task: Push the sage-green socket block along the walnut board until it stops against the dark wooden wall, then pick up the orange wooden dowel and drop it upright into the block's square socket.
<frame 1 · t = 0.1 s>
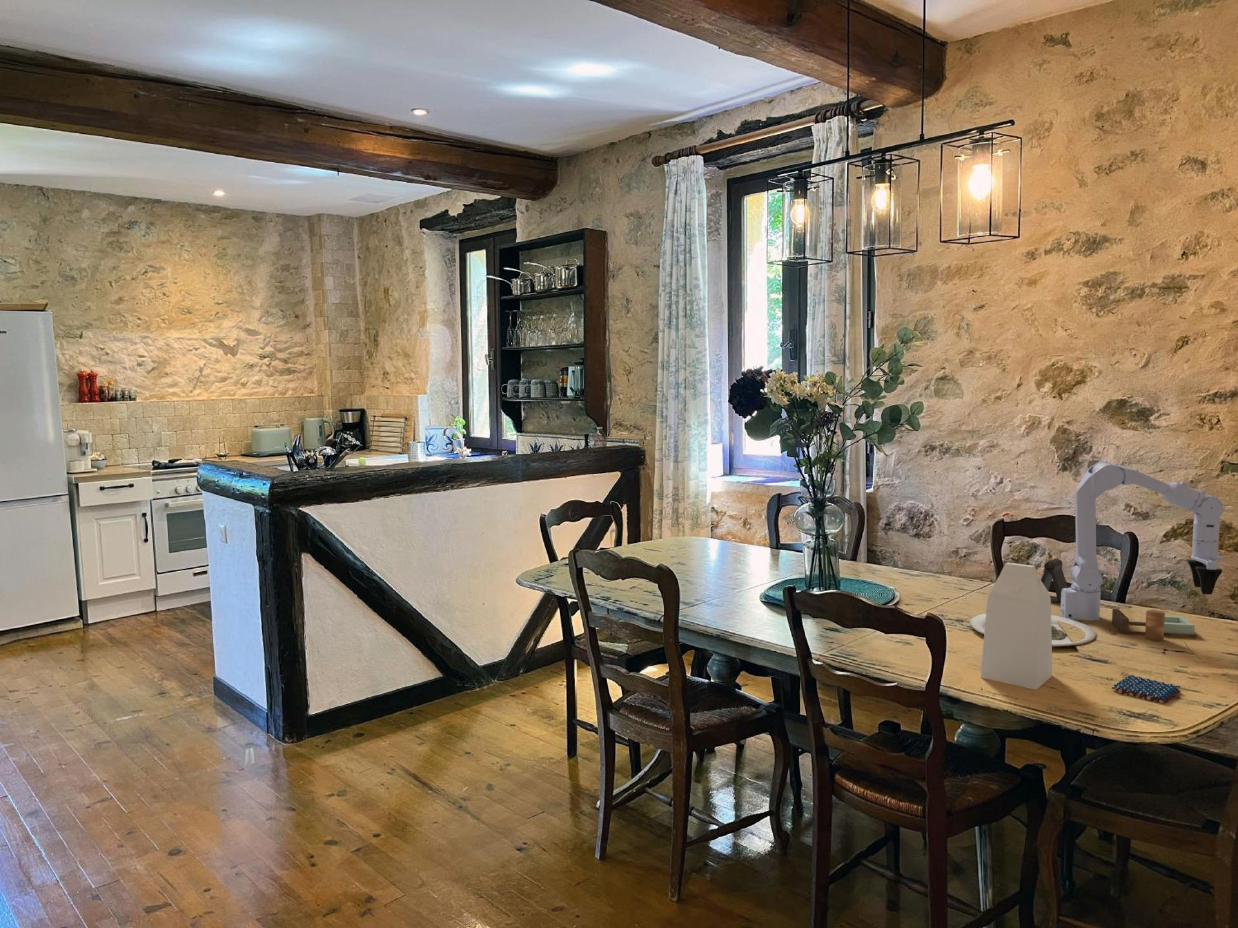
hand: (1203, 590, 230), 10 cm above the table, tool pointing down, fingers open, 7 cm apart
plated food: (1031, 634, 229), on the table
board: (1156, 637, 223), on the table
door stopper: (1052, 600, 261), on the table
milk: (1016, 677, 197), on the table
woven mat: (1145, 694, 187), on the table
dowel: (1154, 639, 219), point 1 cm above the table, touching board
socket block: (1170, 625, 225), point 3 cm above the table, slide at 6.5 cm
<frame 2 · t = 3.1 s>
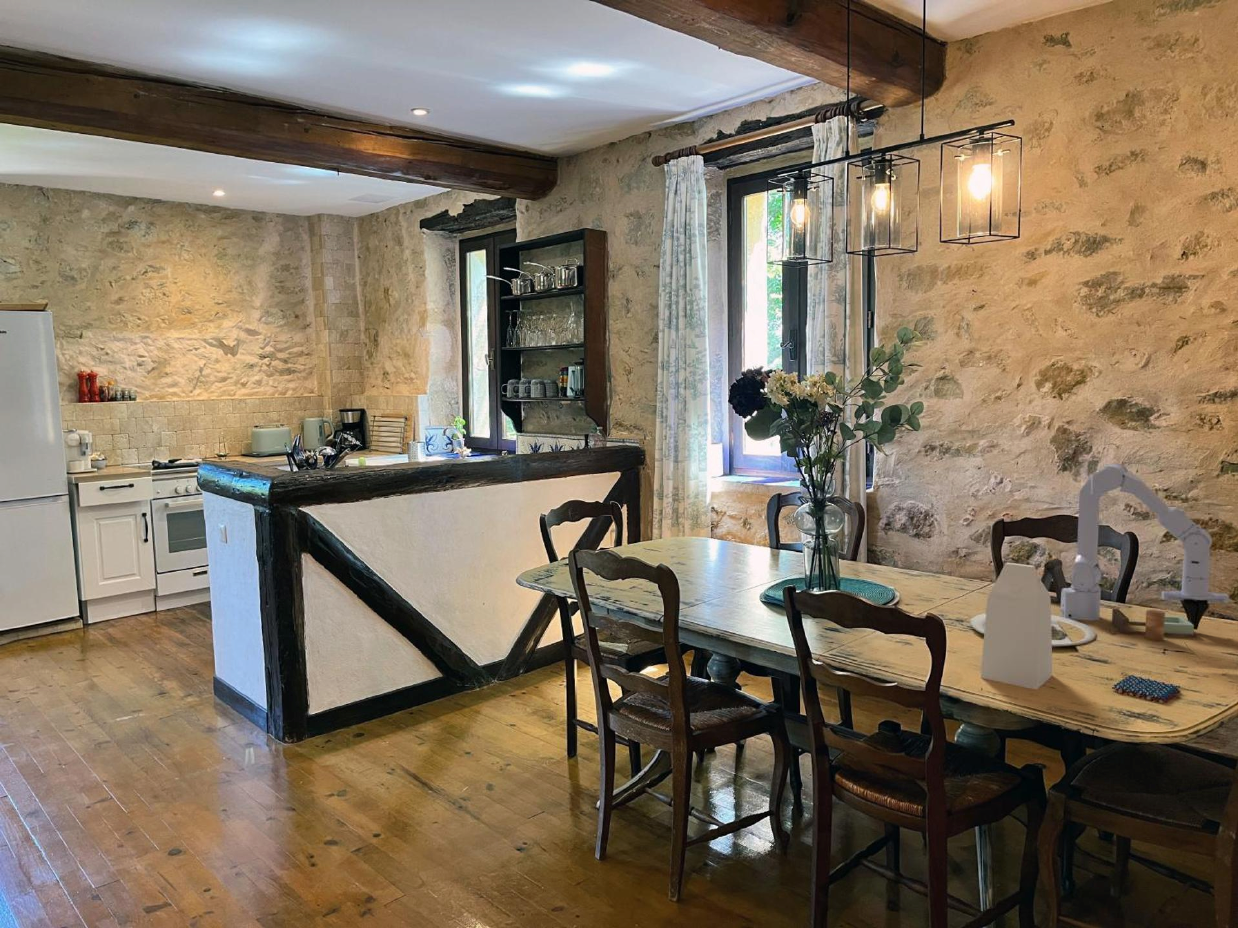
hand: (1193, 628, 223), 2 cm above the table, tool pointing down, fingers closed
socket block: (1169, 625, 225), point 3 cm above the table, slide at 6.3 cm, touching gripper
everything else where it was.
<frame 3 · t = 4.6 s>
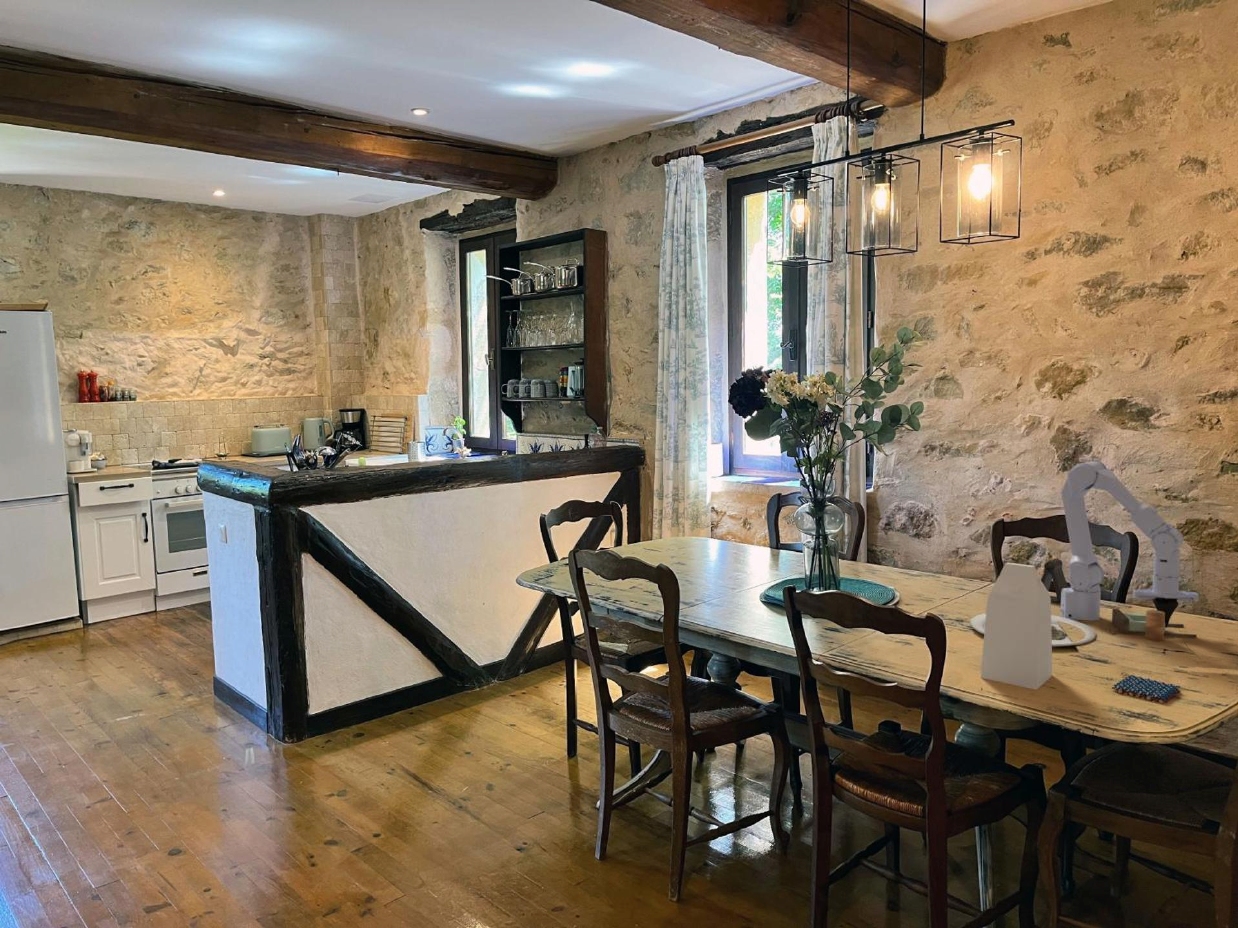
hand: (1163, 626, 225), 2 cm above the table, tool pointing down, fingers closed
socket block: (1142, 623, 226), point 3 cm above the table, slide at -0.1 cm, touching gripper
everything else where it was.
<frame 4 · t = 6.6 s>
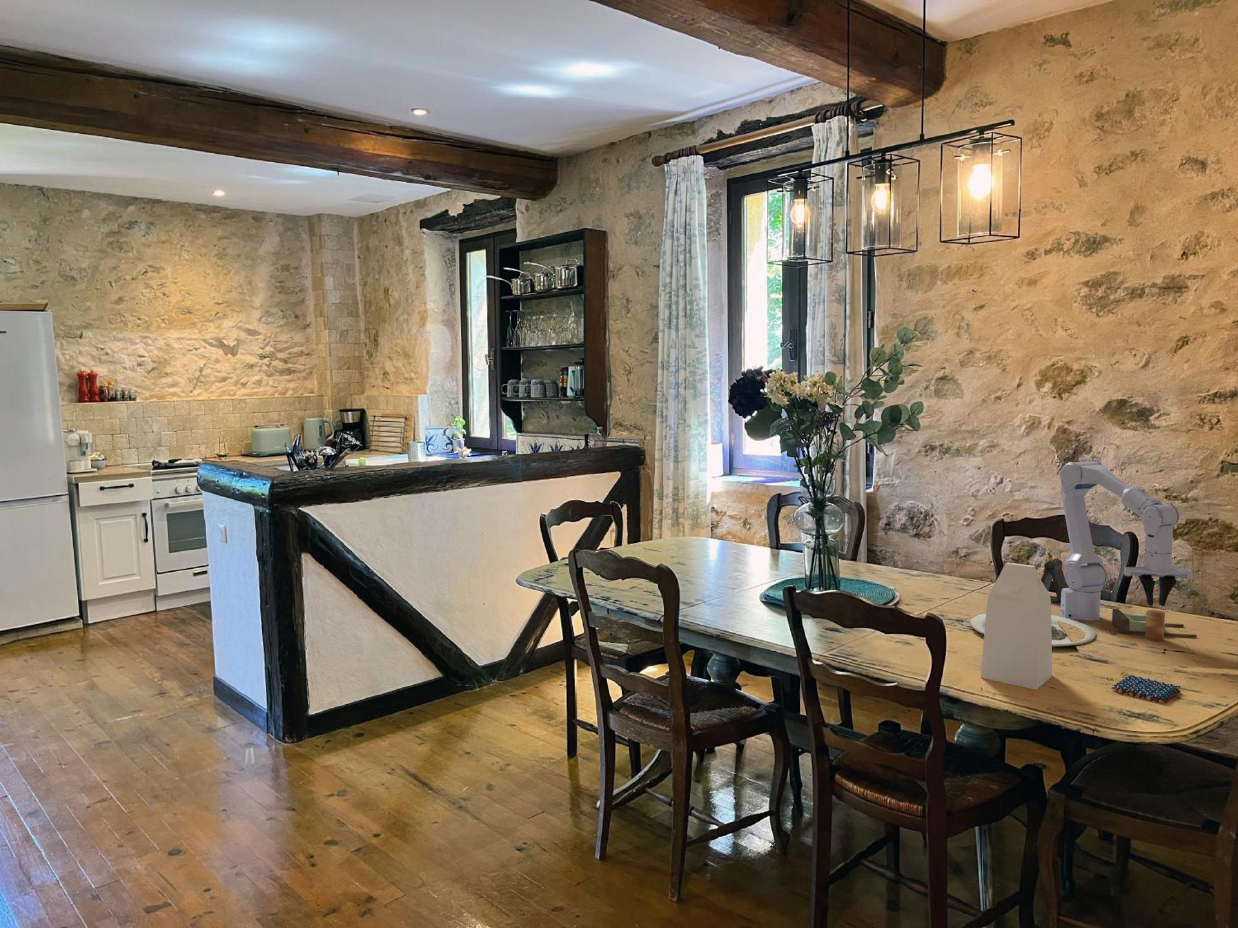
hand: (1155, 604, 218), 10 cm above the table, tool pointing down, fingers closed
socket block: (1142, 623, 226), point 3 cm above the table, slide at 0.0 cm
everything else where it was.
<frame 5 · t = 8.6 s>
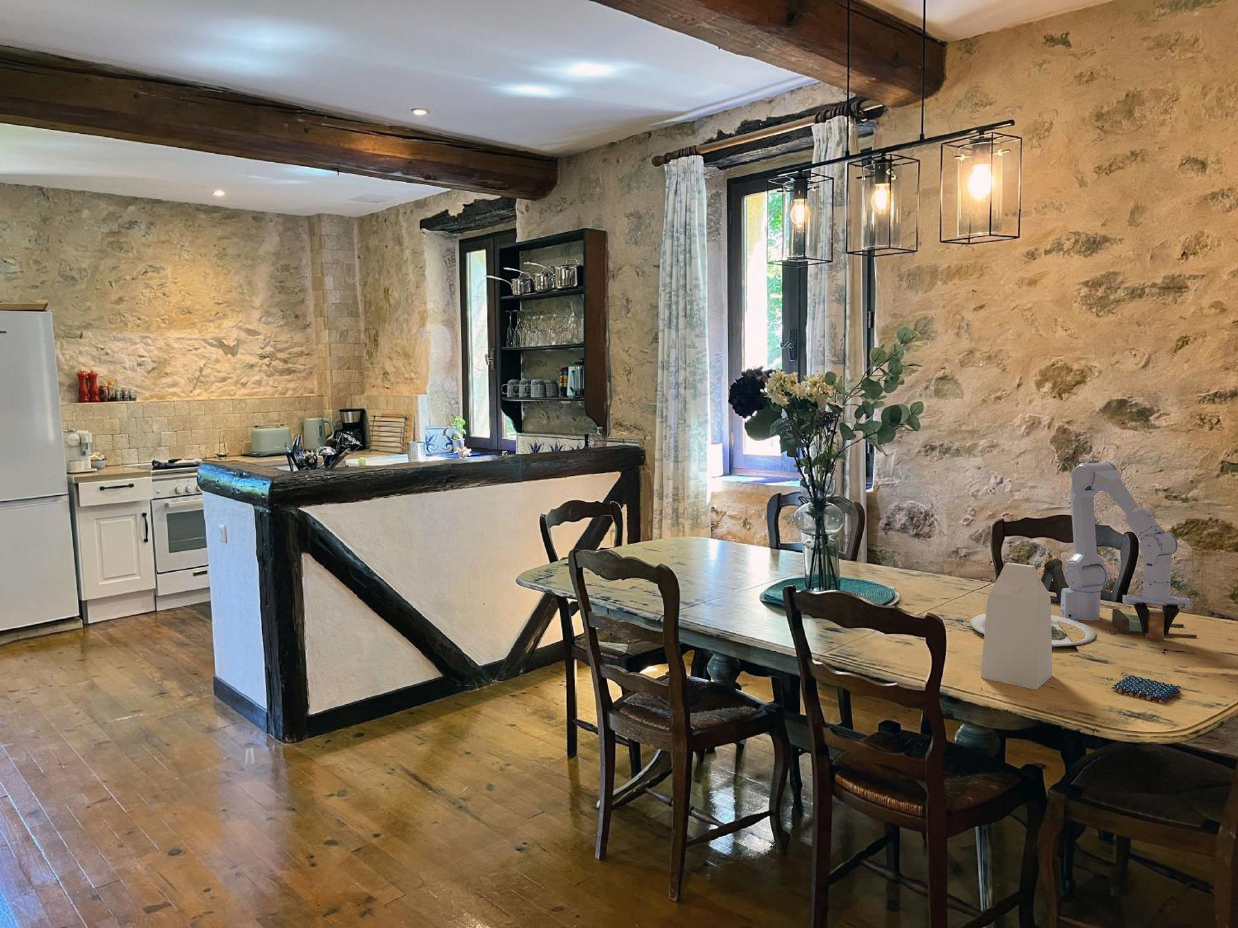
hand: (1154, 633, 219), 3 cm above the table, tool pointing down, fingers closed on dowel, 4 cm apart
dowel: (1154, 639, 219), point 1 cm above the table, touching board, gripper
everything else where it was.
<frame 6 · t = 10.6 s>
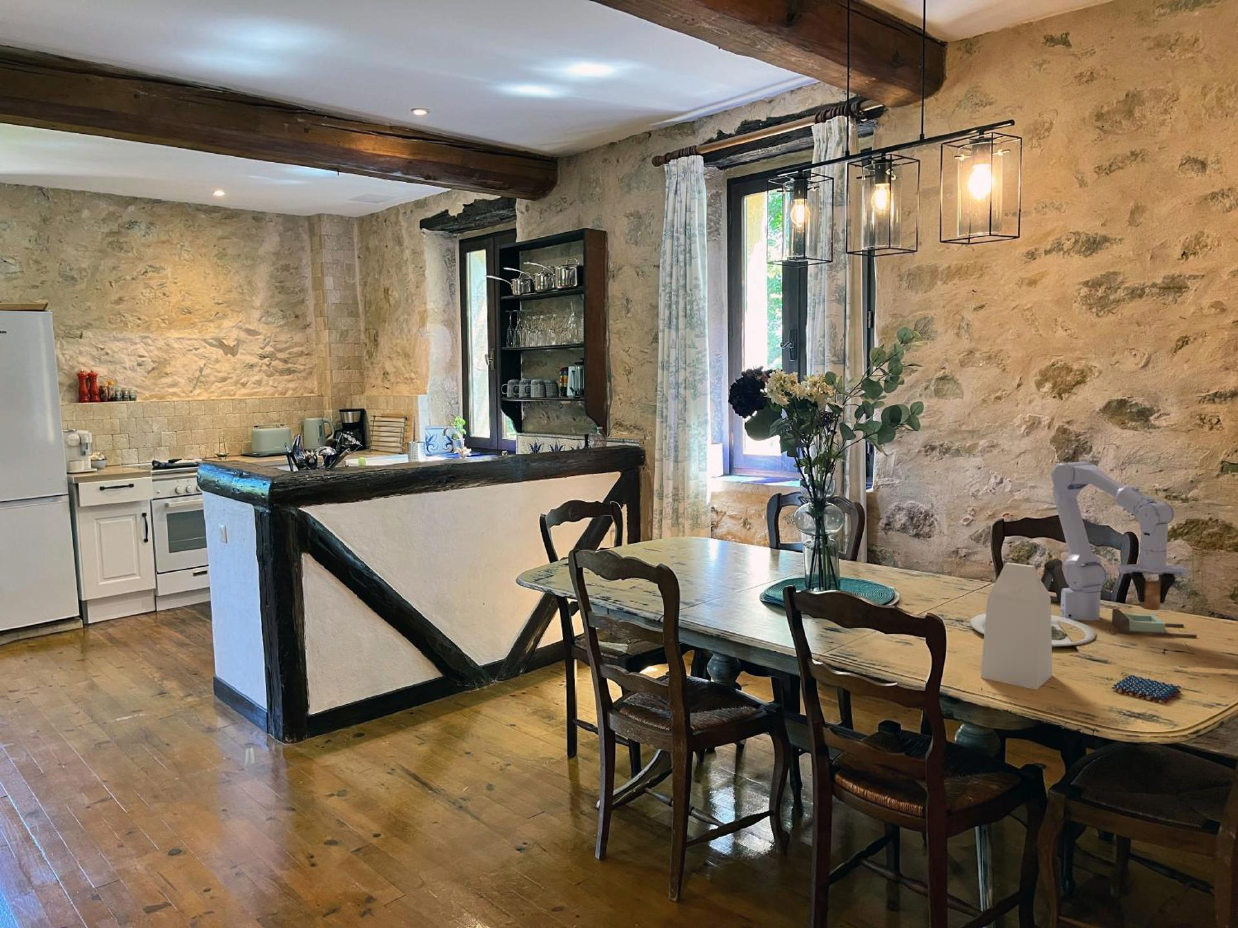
hand: (1150, 601, 221), 10 cm above the table, tool pointing down, fingers closed on dowel, 4 cm apart
dowel: (1150, 607, 221), point 8 cm above the table, touching gripper
everything else where it was.
when the fingers open (5 cm above the table, at t = 12.7 s): dowel drops 2 cm, resting on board.
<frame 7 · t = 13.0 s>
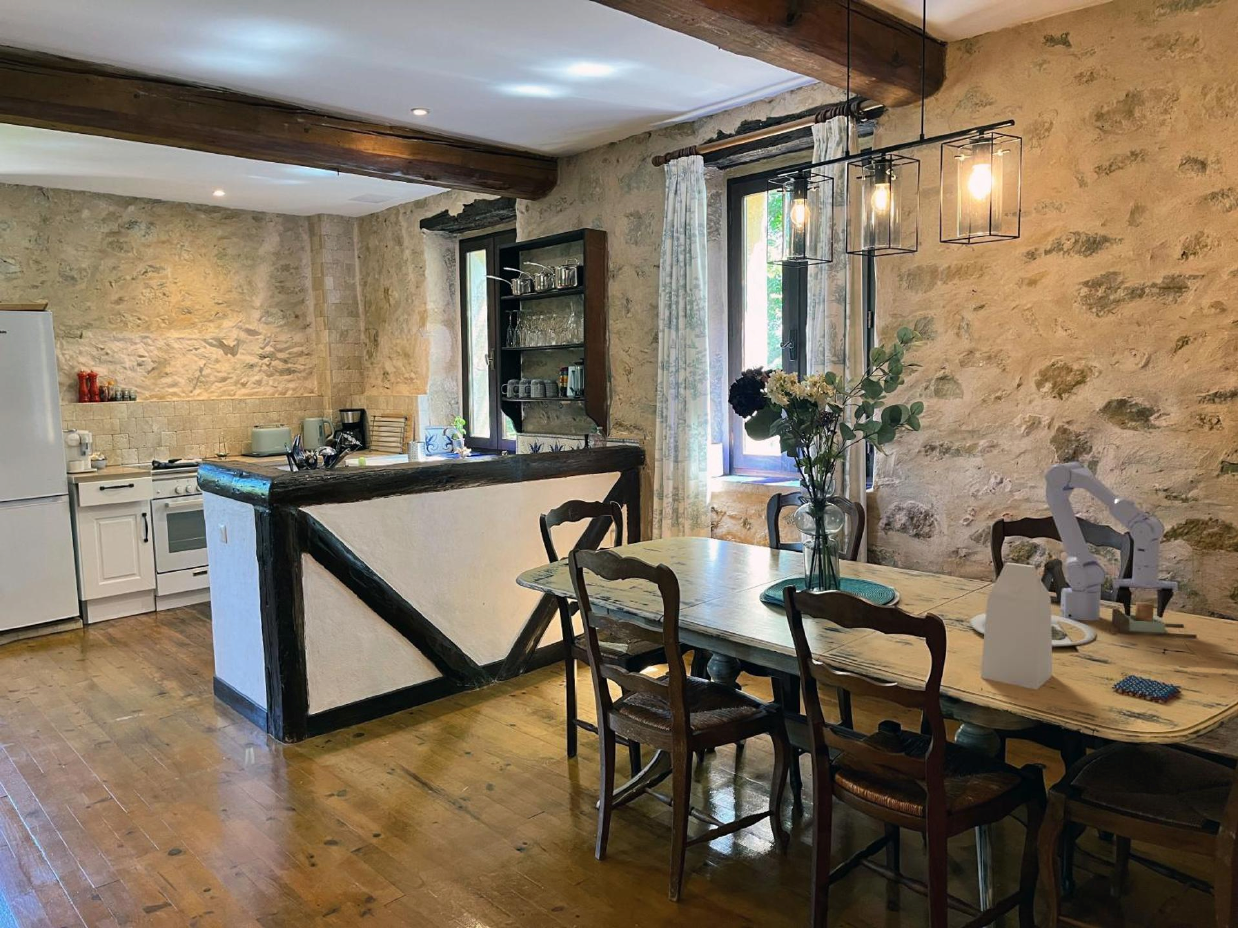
hand: (1143, 615, 226), 5 cm above the table, tool pointing down, fingers open, 7 cm apart
dowel: (1143, 629, 226), point 1 cm above the table, touching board
everything else where it was.
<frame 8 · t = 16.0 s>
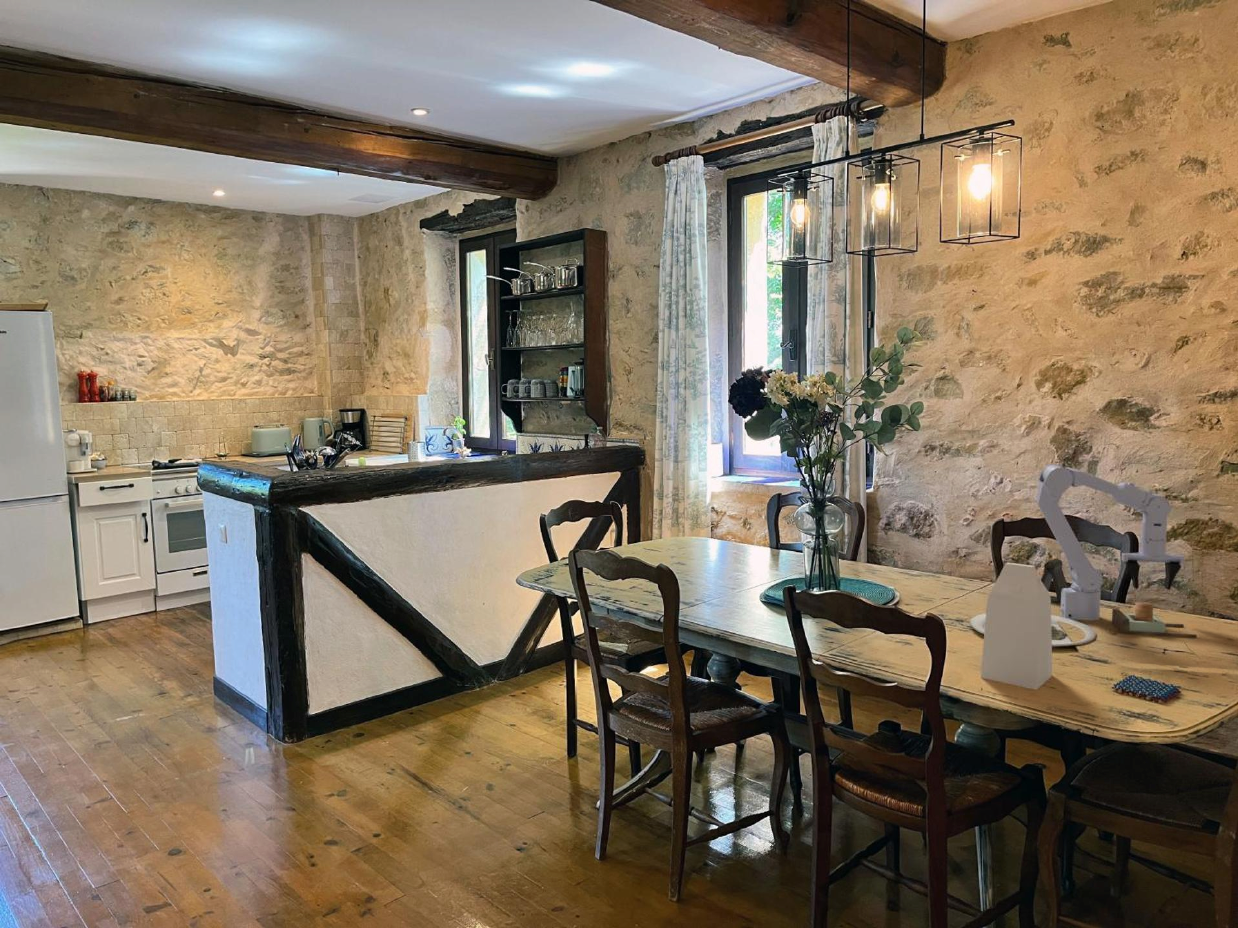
hand: (1151, 588, 234), 10 cm above the table, tool pointing down, fingers open, 7 cm apart
nothing on the table moved.
at the end: socket block slide at 0.0 cm; dowel 0.3 cm off-centre on the socket block, point 0.0 cm above the socket block's base; dowel tilted 1° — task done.
